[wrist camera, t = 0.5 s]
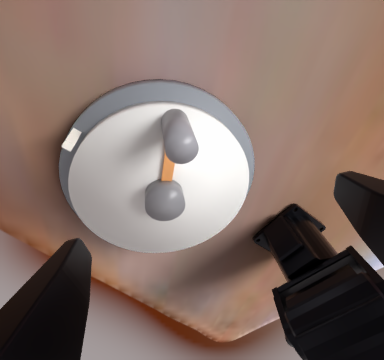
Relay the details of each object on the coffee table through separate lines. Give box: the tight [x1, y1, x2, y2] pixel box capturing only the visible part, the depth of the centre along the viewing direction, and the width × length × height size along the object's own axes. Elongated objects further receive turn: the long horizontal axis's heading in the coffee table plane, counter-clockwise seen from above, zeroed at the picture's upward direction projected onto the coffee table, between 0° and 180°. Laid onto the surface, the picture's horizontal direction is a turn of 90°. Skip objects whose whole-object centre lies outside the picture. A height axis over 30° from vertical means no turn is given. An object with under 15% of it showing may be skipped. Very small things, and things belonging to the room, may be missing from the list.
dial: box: [68, 101, 249, 253], centre depth 18 cm, size 14×14×5 cm
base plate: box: [59, 79, 254, 217], centre depth 20 cm, size 16×16×4 cm
